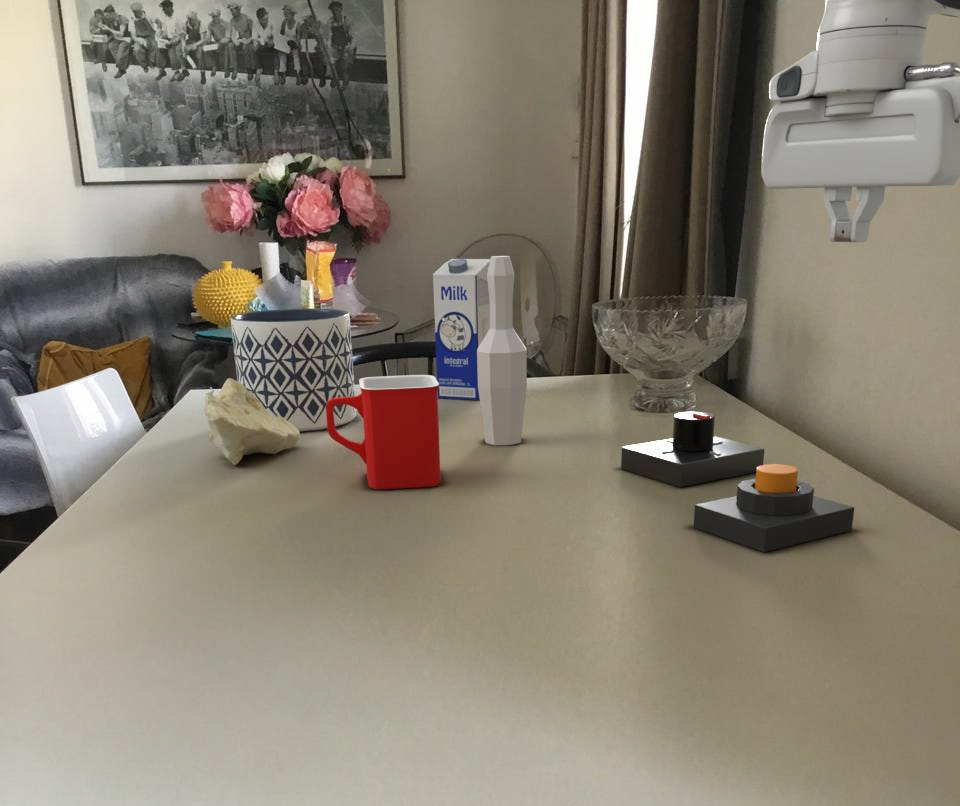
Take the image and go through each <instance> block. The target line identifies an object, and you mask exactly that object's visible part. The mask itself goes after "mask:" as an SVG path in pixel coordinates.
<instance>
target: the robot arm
mask: <svg viewBox="0 0 960 806" xmlns="http://www.w3.org/2000/svg"><path fill="white" fill-rule="evenodd" d="M824 6H825V7H824V10H823V15H822V19H821V22H820V25H819V27H818V30H817V31H818V32H817V39H816V50H812V51H811V52H809V53H808V54H806V55H804V57H802V58H801V59H799V60H798V61H796V62H794V63H793V64H791V65H790V66H788V67H787V68H785V69H783V70H781V71H779V72H778V73H776V74H774V76H773V77H772V78H771V79H770V82H769V89H768V90H769V91H768V93H769V99H770V100H771V101H773V102H777V103H776V104H774V105H773V107H772V108H771V109H770V111H769V113H768V116H767V119H766V123H765V126H764V133H763V143H762V153H761V165H760V167H761V169H760V170H761V171H760V173H761V178H762V180H763V182H764V185H765V187H766V188H767V189H770V190H773V189H774V190H776V189H777V190H779V189H780V190H785V189H786V190H788V189H823V190H824V191H823V200H822V202H823V204H824V207H825V210H826V213H827V215H828V218H829V220H830V222H831V224H830V235H829V239H830V241H831V243H855V244H856V243H865V242H867V241H868V239H869V232H870V225H871V222H872V220H873V219H874V218H875V216H876V214H877V212H878V211H879V209H880V207H881V206H882V204H883V202H884V200H885V194H886V193H885V192H886V187H939V186H942V187H943V186H954V185H956V184H957V182H958V181H959V180H960V66H959V63H957V62H956V61H944V62H941V63H938V64H923V60H924V53H925V52H924V51H925V43H926V35H927V29H928V23H929V22H928V21H929V19H930V18H931V17H933V16H937V15H940V16H947V17H954V18H960V0H825V5H824ZM958 74H959V75H958ZM853 188H856V191H855V201H856V202H859V203H858V205H857V208H856V210H855V212H854V213H853V216H852V219H851V216H850V213H849V209H848V205H847V202H849V201H851V200H852V194H853V193H852V192H853Z"/></svg>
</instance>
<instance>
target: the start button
mask: <svg viewBox="0 0 960 806" xmlns="http://www.w3.org/2000/svg"><path fill="white" fill-rule="evenodd" d="M798 475H799V469H798V468H797V467H796V466H793V465H789V464H781V463H768V464H767V463H766V464H763V465H761V466H758V467H757V470H756V472H755V478H756V482H755V489H756V490H759V491H763V492H772V493H790V492H794V491H796V486H797V480H798Z"/></svg>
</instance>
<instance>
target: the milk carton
mask: <svg viewBox="0 0 960 806" xmlns="http://www.w3.org/2000/svg"><path fill="white" fill-rule="evenodd" d="M490 260H491V258H450V259H449V260H448V261H446V262H444V263H443V264H442V265H441V266H440V267H439V268H438V269H437V270H436V271H434V272H433V273H432V274H431V275H432V283H433V311H434V335H435V336H434V337H435V358H436V359H435V363H436V365H435V366H436V380H437V381H438V383H439V387H438V393H437V395H438V399H452V400H467V401H469V400H470V401H480V398H479V391H478V370H477V349H478V347H479V345H480V344H481V342H482V341H483V339H484V337H485V336H486V334H487V332H488V331H489V329H490V300H489V290H488V281H487V273H488V269H489V264H490Z"/></svg>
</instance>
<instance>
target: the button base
mask: <svg viewBox="0 0 960 806" xmlns="http://www.w3.org/2000/svg"><path fill="white" fill-rule="evenodd" d="M755 482H756V477H755V478H750V479H746V480H742V481H741V482H740V483H738V484H737V487H736V488H737V490H736V495H735V496H730V497H725V498H720V499H716V500H710V501H705V502H702V503H696V504H694V510H693V511H694V513H693V528H694V529H697V530H700V531H702V532H706V533H708V534H711V535H714V536H717V537H720V538H723V539H726V540H729V541H731V542H734V543H737V544H740V545H742V546H745V547H747V548H751V549H753V550H756V551H759V552H762V553H767V552H772V551H775V550H779V549H782V548H787V547H792V546H795V545H800V544H803V543H807V542H811V541H815V540H819V539H823V538H827V537H832V536H836V535H839V534H843V533H847V532H851V531H852V530H853V523H854V516H855V506H850V505H847V504H844V503H841V502H837V501H833V500H829V499H827V498H823V497H819V496H816V495H814V494H815V487H814V486H812V485H811V484H810V483H809V482H805V481H801V480H798V479H797V486H796V491H794V492H790V493H772V492H763V491H759V490H756V489H755Z"/></svg>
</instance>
